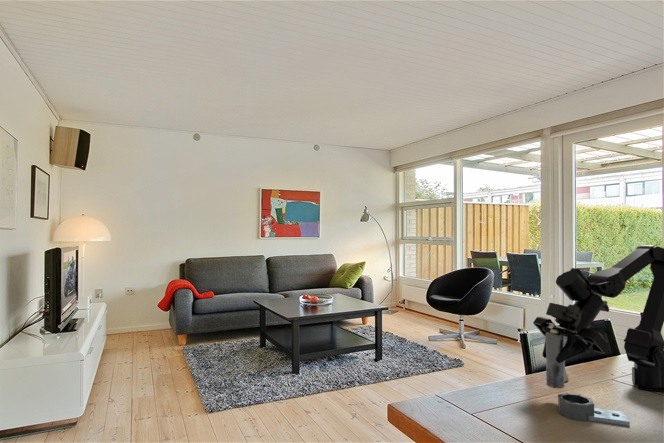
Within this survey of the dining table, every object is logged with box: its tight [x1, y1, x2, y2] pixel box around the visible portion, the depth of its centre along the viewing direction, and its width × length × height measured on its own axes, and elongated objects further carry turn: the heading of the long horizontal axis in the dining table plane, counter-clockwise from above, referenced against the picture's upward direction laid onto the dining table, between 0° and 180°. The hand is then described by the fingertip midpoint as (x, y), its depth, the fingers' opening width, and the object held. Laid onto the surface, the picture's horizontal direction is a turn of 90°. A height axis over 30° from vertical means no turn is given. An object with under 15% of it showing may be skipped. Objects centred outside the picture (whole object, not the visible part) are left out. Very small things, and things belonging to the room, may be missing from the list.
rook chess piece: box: [564, 360, 570, 383], centre depth 123 cm, size 4×4×8 cm
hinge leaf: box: [557, 392, 630, 427], centre depth 98 cm, size 14×7×4 cm, turn 68°
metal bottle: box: [545, 330, 565, 389], centre depth 107 cm, size 4×4×14 cm
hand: (550, 359), depth 107 cm, fingers closed on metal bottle, 4 cm apart
